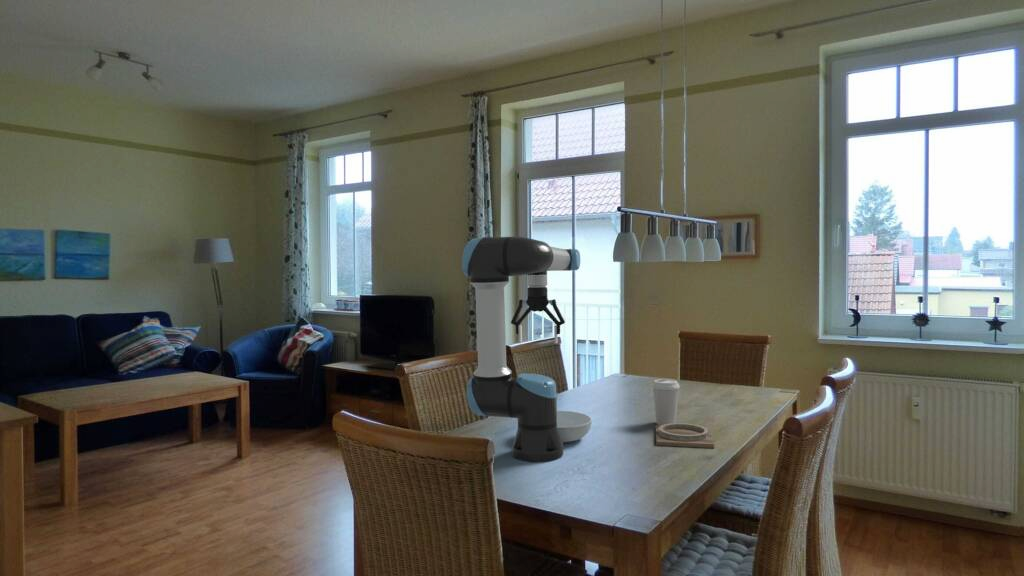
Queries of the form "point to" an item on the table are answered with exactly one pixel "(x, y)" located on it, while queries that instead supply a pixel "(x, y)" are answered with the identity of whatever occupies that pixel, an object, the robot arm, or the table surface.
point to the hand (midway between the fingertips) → (538, 343)
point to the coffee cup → (665, 400)
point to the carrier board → (683, 435)
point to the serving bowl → (572, 425)
